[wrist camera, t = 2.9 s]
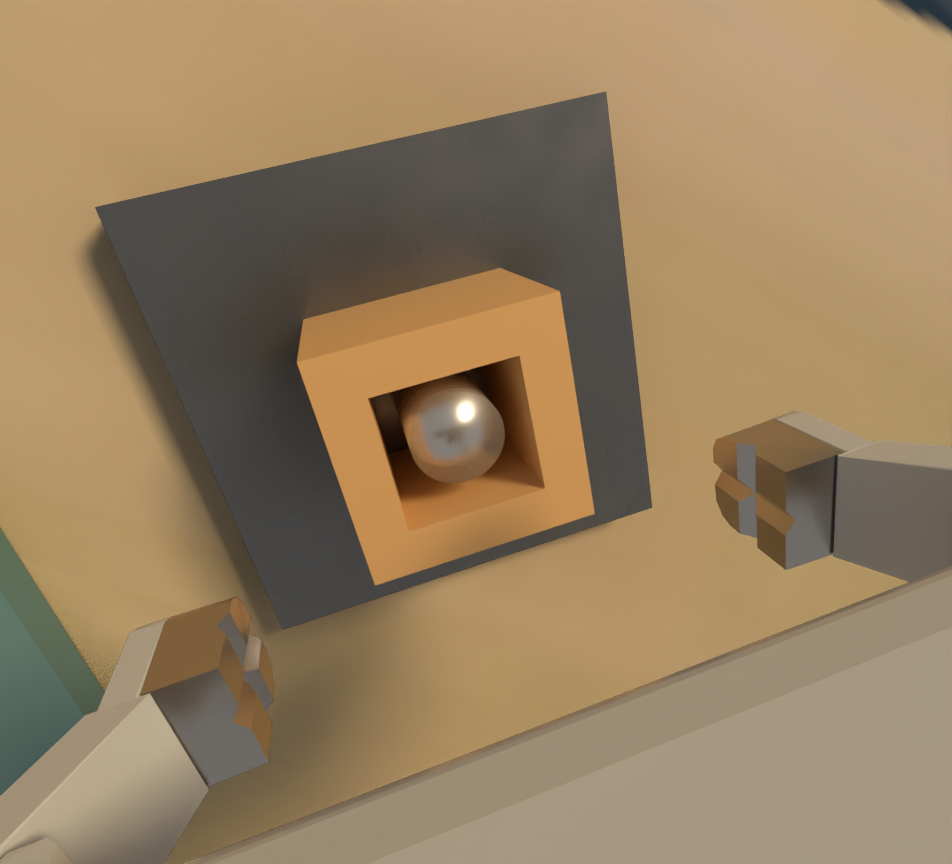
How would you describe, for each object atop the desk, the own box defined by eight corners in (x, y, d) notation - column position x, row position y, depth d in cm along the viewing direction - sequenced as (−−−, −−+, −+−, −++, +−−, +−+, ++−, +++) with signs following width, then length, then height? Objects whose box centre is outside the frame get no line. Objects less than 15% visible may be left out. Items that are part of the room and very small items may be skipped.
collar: (534, 444, 20) (594, 513, 16) (362, 496, 20) (375, 585, 15) (500, 267, 18) (559, 291, 14) (303, 319, 17) (297, 362, 13)
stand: (633, 490, 24) (724, 575, 19) (285, 602, 22) (273, 734, 17) (585, 99, 18) (695, 57, 13) (114, 206, 17) (11, 210, 11)
